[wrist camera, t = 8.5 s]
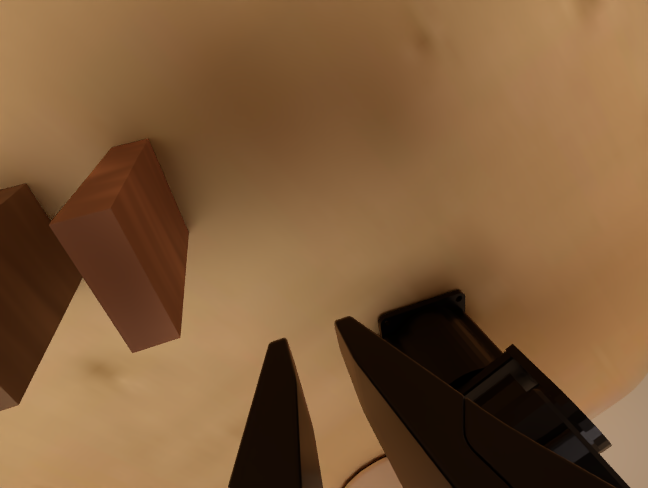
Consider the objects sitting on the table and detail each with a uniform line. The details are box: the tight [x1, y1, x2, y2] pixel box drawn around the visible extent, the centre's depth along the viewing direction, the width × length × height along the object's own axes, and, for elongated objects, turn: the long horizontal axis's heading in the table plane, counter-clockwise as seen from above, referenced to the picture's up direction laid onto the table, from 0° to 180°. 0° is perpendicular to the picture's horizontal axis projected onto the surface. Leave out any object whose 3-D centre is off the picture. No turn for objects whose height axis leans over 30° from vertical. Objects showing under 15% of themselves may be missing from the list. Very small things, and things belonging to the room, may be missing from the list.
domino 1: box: [0, 184, 83, 411], centre depth 14 cm, size 2×5×8 cm, turn 11°
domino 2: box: [49, 139, 189, 353], centre depth 15 cm, size 2×5×8 cm, turn 11°
